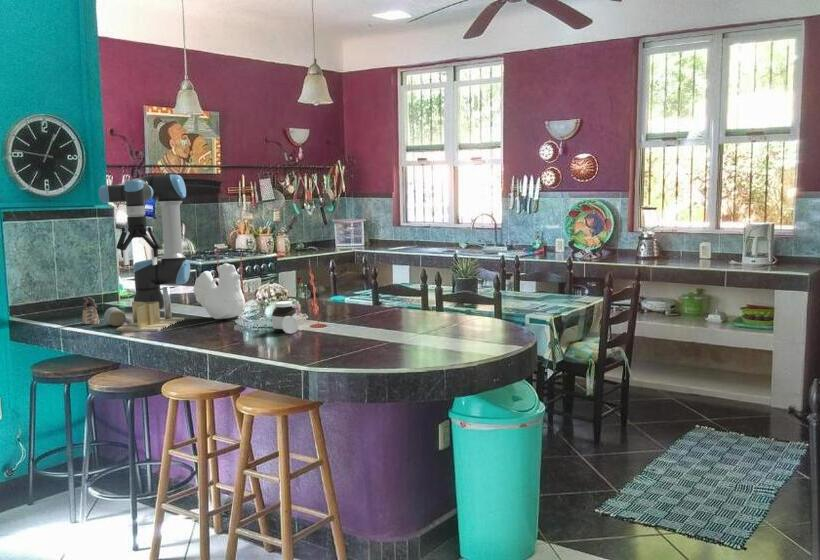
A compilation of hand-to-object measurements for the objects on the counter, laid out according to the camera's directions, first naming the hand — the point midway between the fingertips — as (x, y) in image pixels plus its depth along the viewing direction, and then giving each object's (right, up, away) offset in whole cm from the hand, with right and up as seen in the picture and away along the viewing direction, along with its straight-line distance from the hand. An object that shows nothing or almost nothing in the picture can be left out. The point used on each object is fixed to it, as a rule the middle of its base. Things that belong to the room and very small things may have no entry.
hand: (140, 264), depth 337 cm
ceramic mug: (-10, -27, +3) cm, 29 cm away
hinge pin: (+10, -24, +8) cm, 27 cm away
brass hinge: (+2, -26, -5) cm, 26 cm away
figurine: (-25, -26, +8) cm, 37 cm away
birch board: (+5, -26, -1) cm, 27 cm away
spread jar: (+68, -28, -25) cm, 77 cm away
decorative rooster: (+32, -24, +11) cm, 42 cm away
